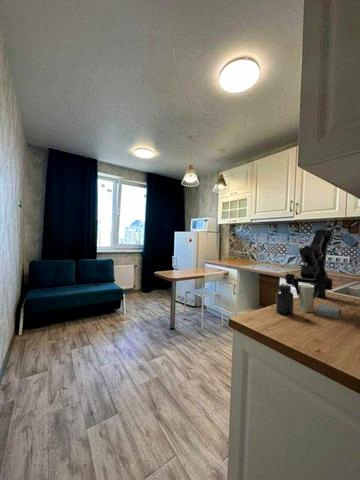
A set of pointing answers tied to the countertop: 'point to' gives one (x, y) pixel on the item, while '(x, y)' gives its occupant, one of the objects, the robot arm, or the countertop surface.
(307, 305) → the box
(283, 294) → the supplement bottle
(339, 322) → the countertop surface
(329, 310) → the mat
